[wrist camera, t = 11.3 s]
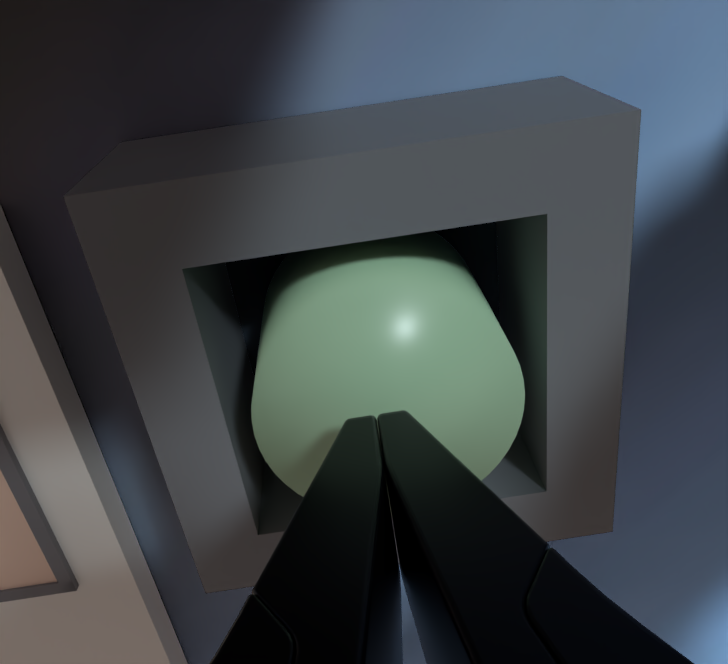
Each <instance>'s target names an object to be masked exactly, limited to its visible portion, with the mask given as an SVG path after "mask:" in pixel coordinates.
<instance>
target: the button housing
mask: <svg viewBox="0 0 728 664" xmlns="http://www.w3.org/2000/svg"><path fill="white" fill-rule="evenodd" d="M640 120H641V109H639V108H636V107H634V106H632V105H629V104H627V103H625V102H622V101H620V100H617V99H615V98H613V97H610V96H608V95H606V94H603V93H601V92H599V91H596V90H594V89H592V88H589V87H587V86H585V85H582V84H580V83H578V82H575V81H573V80H571V79H568V78H566V77H564V76H558V77H552V78H545V79H538V80H532V81H525V82H519V83H512V84H505V85H499V86H492V87H485V88H479V89H472V90H465V91H459V92H452V93H445V94H439V95H432V96H425V97H419V98H412V99H405V100H399V101H392V102H385V103H379V104H372V105H365V106H359V107H352V108H345V109H339V110H332V111H325V112H319V113H312V114H305V115H299V116H292V117H285V118H279V119H272V120H265V121H259V122H252V123H246V124H239V125H232V126H226V127H219V128H212V129H206V130H199V131H192V132H186V133H179V134H172V135H166V136H159V137H152V138H146V139H139V140H132V141H126V142H121V143H119V144H118V145H117V146H116V147H115V148H114V149H113V150H112V151H111V152H110V153H109V154H108V155H107V156H106V157H105V158H104V159H102V160H101V161H100V162H99V163H98V164H97V165H96V166H95V167H94V168H93V169H92V170H91V171H90V172H89V173H88V174H87V175H85V176H84V177H83V178H82V179H81V180H80V181H79V182H78V183H77V184H76V185H75V186H74V187H73V188H72V189H71V190H70V191H69V192H67V193H66V194H65V195H64V196H63V198H64V200H65V203H66V206H67V209H68V211H69V214H70V217H71V220H72V223H73V225H74V228H75V231H76V234H77V237H78V239H79V242H80V245H81V248H82V250H83V253H84V256H85V259H86V262H87V264H88V267H89V270H90V273H91V276H92V278H93V281H94V284H95V287H96V289H97V292H98V295H99V298H100V301H101V303H102V306H103V309H104V312H105V315H106V317H107V320H108V323H109V326H110V328H111V331H112V334H113V337H114V340H115V342H116V345H117V348H118V351H119V354H120V356H121V359H122V362H123V365H124V367H125V370H126V373H127V376H128V379H129V381H130V384H131V387H132V390H133V393H134V395H135V398H136V401H137V404H138V406H139V409H140V412H141V415H142V418H143V420H144V423H145V426H146V429H147V432H148V434H149V437H150V440H151V443H152V445H153V448H154V451H155V454H156V457H157V459H158V462H159V465H160V468H161V471H162V473H163V476H164V479H165V482H166V484H167V487H168V490H169V493H170V496H171V498H172V501H173V504H174V507H175V510H176V512H177V515H178V518H179V521H180V523H181V526H182V529H183V532H184V535H185V537H186V540H187V543H188V546H189V548H190V551H191V554H192V557H193V560H194V562H195V565H196V568H197V571H198V574H199V576H200V579H201V582H202V585H203V587H204V590H205V593H212V592H219V591H225V590H232V589H238V588H245V587H252V586H255V584H256V582H257V581H258V579H259V577H260V575H261V573H262V572H263V570H264V568H265V566H266V564H267V562H268V561H269V559H270V557H271V555H272V553H273V552H274V550H275V548H276V546H277V544H278V542H279V541H280V539H281V537H282V535H283V533H284V531H285V530H286V528H287V526H288V524H289V522H290V521H291V519H292V517H293V515H294V513H295V511H296V510H297V508H298V506H299V504H300V502H301V501H302V499H303V497H302V496H301V495H299V494H297V493H296V492H295V491H293V490H292V489H291V488H290V487H288V486H287V485H286V484H285V483H284V482H283V481H282V480H281V479H280V478H279V477H278V476H277V475H276V474H275V473H274V472H273V471H272V469H271V468H270V467H269V465H268V464H267V462H266V461H265V459H264V457H263V455H262V453H261V452H260V450H259V447H258V444H257V442H256V439H255V436H254V431H253V426H252V416H251V404H252V396H253V388H254V380H255V379H254V375H253V371H252V367H251V363H250V359H249V355H248V351H247V347H246V343H245V339H244V335H243V331H242V327H241V323H240V319H239V315H238V311H237V307H236V303H235V299H234V295H233V291H232V287H231V283H230V279H229V275H228V271H227V267H226V263H225V262H231V261H238V260H244V259H251V258H258V257H264V256H271V255H277V254H284V253H291V252H297V251H304V250H311V249H317V248H324V247H331V246H337V245H344V244H350V243H357V242H364V241H370V240H377V239H384V238H390V237H397V236H403V235H410V234H417V233H423V232H430V231H437V230H443V229H450V228H457V227H463V226H470V225H476V224H483V223H490V222H496V241H497V268H498V296H499V323H500V326H501V328H502V330H503V332H504V334H505V336H506V338H507V339H508V341H509V343H510V345H511V347H512V349H513V351H514V353H515V355H516V357H517V360H518V362H519V364H520V367H521V371H522V375H523V379H524V388H525V403H524V412H523V416H522V421H521V424H520V427H519V430H518V432H517V435H516V438H515V439H514V441H513V443H512V445H511V447H510V449H509V450H508V452H507V453H506V455H505V456H504V457H503V459H502V460H501V462H500V463H499V464H498V465H497V466H496V467H495V468H494V469H493V470H492V471H491V473H490V474H489V475H487V476H486V477H485V478H484V479H483V480H482V482H483V483H484V484H485V485H486V486H487V487H488V488H489V489H491V490H492V491H493V492H494V493H495V494H496V495H497V496H498V497H499V498H500V499H501V500H502V501H503V502H504V503H505V504H506V505H508V506H509V507H510V508H511V509H512V510H513V511H514V512H515V513H516V514H517V515H518V516H519V517H520V518H521V519H522V520H523V521H524V522H526V523H527V524H528V525H529V526H530V527H531V528H532V529H533V530H534V531H535V532H536V533H537V534H538V535H539V536H540V537H541V538H543V539H544V540H545V541H546V542H547V541H554V540H561V539H567V538H574V537H580V536H587V535H593V534H600V533H607V532H613V517H614V502H615V487H616V473H617V458H618V443H619V429H620V414H621V399H622V385H623V370H624V355H625V340H626V326H627V311H628V296H629V282H630V267H631V252H632V238H633V223H634V208H635V193H636V179H637V164H638V149H639V135H640ZM392 522H393V521H392ZM393 529H394V527H393ZM394 535H395V533H394ZM395 542H396V540H395ZM396 549H397V546H396ZM397 555H398V553H397ZM398 563H399V559H398Z"/></svg>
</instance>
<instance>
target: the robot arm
mask: <svg viewBox="0 0 728 664" xmlns="http://www.w3.org/2000/svg"><path fill="white" fill-rule="evenodd" d="M377 423H378V425H377ZM378 429H379V431H378ZM379 436H380V437H379ZM381 449H382V450H381ZM387 488H388V489H387ZM389 501H390V502H389ZM390 508H391V509H390ZM391 514H392V515H391ZM392 521H393V522H392ZM393 527H394V529H393ZM394 533H395V535H394ZM395 540H396V542H395ZM396 546H397V549H396ZM397 553H398V555H397ZM398 559H399V563H398ZM399 564H400V569H401V575H402V579H403V582H404V586H405V590H406V594H407V597H408V601H409V604H410V608H411V611H412V614H413V618H414V621H415V625H416V628H417V632H418V635H419V638H420V642H421V645H422V649H423V652H424V656H425V659H426V663H427V664H694V663H692V662H691V661H690V660H688V659H687V658H686V657H684V656H683V655H682V654H680V653H679V652H678V651H676V650H675V649H674V648H672V647H671V646H670V645H668V644H667V643H666V642H664V641H663V640H662V639H660V638H659V637H658V636H656V635H655V634H654V633H652V632H651V631H650V630H648V629H647V628H646V627H645V626H643V625H642V624H641V623H639V622H638V621H637V620H636V619H634V618H633V617H632V616H630V615H629V614H628V613H627V612H625V611H624V610H623V609H622V608H620V607H619V606H618V605H617V604H615V603H614V602H613V601H611V600H610V599H609V598H608V597H606V596H605V595H604V594H603V593H602V592H601V591H600V590H598V589H597V588H596V587H595V586H594V585H593V584H592V583H590V582H589V581H588V580H587V579H586V578H585V577H584V576H583V575H581V574H580V573H579V572H578V571H577V570H576V569H575V568H574V567H572V566H571V565H570V564H569V563H568V562H567V561H566V560H565V559H564V558H563V557H562V556H561V555H560V554H559V553H558V552H557V551H556V550H555V549H553V548H550V547H549V544H548V543H547V542H546V541H545V540H544V539H543V538H541V537H540V536H539V535H538V534H537V533H536V532H535V531H534V530H533V529H532V528H531V527H530V526H529V525H528V524H527V523H526V522H524V521H523V520H522V519H521V518H520V517H519V516H518V515H517V514H516V513H515V512H514V511H513V510H512V509H511V508H510V507H509V506H508V505H506V504H505V503H504V502H503V501H502V500H501V499H500V498H499V497H498V496H497V495H496V494H495V493H494V492H493V491H492V490H491V489H489V488H488V487H487V486H486V485H485V484H484V483H483V482H482V481H481V480H480V479H479V478H478V477H477V476H476V475H475V474H474V473H472V472H471V471H470V470H469V469H468V468H467V467H466V466H465V465H464V464H463V463H462V462H461V461H460V460H459V459H458V458H457V457H455V456H454V455H453V454H452V453H451V452H450V451H449V450H448V449H447V448H446V447H445V446H444V445H443V444H442V443H441V442H440V441H438V440H437V439H436V438H435V437H434V436H433V435H432V434H431V433H430V432H429V431H428V430H427V429H426V428H425V427H424V426H423V425H421V424H420V423H419V422H418V421H417V420H416V419H415V418H414V417H413V416H412V415H411V414H410V413H409V412H407V411H405V410H401V411H394V412H388V413H382V414H379V415H378V417H377V419H376V417H375V416H373V415H368V416H362V417H355V418H349V419H347V420H346V421H345V422H344V424H343V426H342V428H341V429H340V431H339V433H338V435H337V437H336V439H335V440H334V442H333V444H332V446H331V448H330V449H329V451H328V453H327V455H326V457H325V459H324V460H323V462H322V464H321V466H320V468H319V470H318V471H317V473H316V475H315V477H314V479H313V480H312V482H311V484H310V486H309V488H308V490H307V491H306V493H305V495H304V497H303V499H302V501H301V502H300V504H299V506H298V508H297V510H296V511H295V513H294V515H293V517H292V519H291V521H290V522H289V524H288V526H287V528H286V530H285V531H284V533H283V535H282V537H281V539H280V541H279V542H278V544H277V546H276V548H275V550H274V552H273V553H272V555H271V557H270V559H269V561H268V562H267V564H266V566H265V568H264V570H263V572H262V573H261V575H260V577H259V579H258V581H257V582H256V584H255V586H254V588H253V590H252V594H251V595H249V596H248V598H247V600H246V602H245V604H244V606H243V607H242V609H241V611H240V613H239V615H238V617H237V619H236V620H235V622H234V624H233V625H232V627H231V629H230V630H229V632H228V634H227V636H226V637H225V639H224V641H223V642H222V644H221V646H220V647H219V649H218V651H217V652H216V654H215V656H214V657H213V659H212V660H211V662H210V663H209V664H403V653H402V613H401V584H400V571H399Z"/></svg>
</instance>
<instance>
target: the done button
mask: <svg viewBox="0 0 728 664" xmlns="http://www.w3.org/2000/svg"><path fill="white" fill-rule="evenodd" d="M524 403H525V388H524V379H523V375H522V371H521V367H520V364H519V362H518V360H517V357H516V355H515V353H514V351H513V349H512V347H511V345H510V343H509V341H508V339H507V338H506V336H505V334H504V332H503V330H502V328H501V326H500V325H499V323H498V321H497V319H496V317H495V315H494V313H493V312H492V310H491V308H490V306H489V304H488V302H487V300H486V299H485V297H484V295H483V293H482V291H481V289H480V287H479V286H478V284H477V282H476V280H475V278H474V276H473V274H472V273H471V271H470V269H469V267H468V265H467V264H466V262H465V261H464V259H463V258H462V256H461V255H460V254H459V253H458V252H457V250H456V249H455V248H454V247H453V246H452V245H451V244H450V243H449V242H447V241H446V240H445V239H444V238H443V237H441V236H440V235H438V234H437V233H435V232H434V231H430V232H423V233H417V234H410V235H403V236H397V237H390V238H384V239H377V240H370V241H364V242H357V243H350V244H344V245H337V246H331V247H324V248H317V249H311V250H304V251H297V252H291V253H289V254H288V255H287V256H286V257H285V258H284V260H283V261H282V262H281V264H280V265H279V267H278V268H277V270H276V272H275V273H274V275H273V277H272V280H271V282H270V284H269V287H268V290H267V293H266V297H265V303H264V310H263V317H262V325H261V333H260V341H259V349H258V357H257V365H256V372H255V380H254V388H253V396H252V404H251V416H252V426H253V431H254V436H255V439H256V442H257V444H258V447H259V450H260V452H261V453H262V455H263V457H264V459H265V461H266V462H267V464H268V465H269V467H270V468H271V469H272V471H273V472H274V473H275V474H276V475H277V476H278V477H279V478H280V479H281V480H282V481H283V482H284V483H285V484H286V485H287V486H288V487H290V488H291V489H292V490H293V491H295V492H296V493H297V494H299V495H301V496H302V497H304V495H305V493H306V491H307V490H308V488H309V486H310V484H311V482H312V480H313V479H314V477H315V475H316V473H317V471H318V470H319V468H320V466H321V464H322V462H323V460H324V459H325V457H326V455H327V453H328V451H329V449H330V448H331V446H332V444H333V442H334V440H335V439H336V437H337V435H338V433H339V431H340V429H341V428H342V426H343V424H344V422H345V421H346V420H347V419H349V418H355V417H362V416H368V415H373V416H375V417H376V419H377V417H378V415H379V414H382V413H388V412H394V411H401V410H405V411H407V412H409V413H410V414H411V415H412V416H413V417H414V418H415V419H416V420H417V421H418V422H419V423H420V424H421V425H423V426H424V427H425V428H426V429H427V430H428V431H429V432H430V433H431V434H432V435H433V436H434V437H435V438H436V439H437V440H438V441H440V442H441V443H442V444H443V445H444V446H445V447H446V448H447V449H448V450H449V451H450V452H451V453H452V454H453V455H454V456H455V457H457V458H458V459H459V460H460V461H461V462H462V463H463V464H464V465H465V466H466V467H467V468H468V469H469V470H470V471H471V472H472V473H474V474H475V475H476V476H477V477H478V478H479V479H480V480H481V481H482V480H483V479H484V478H485V477H486V476H487V475H489V474H490V473H491V471H492V470H493V469H494V468H495V467H496V466H497V465H498V464H499V463H500V462H501V460H502V459H503V457H504V456H505V455H506V453H507V452H508V450H509V449H510V447H511V445H512V443H513V441H514V439H515V438H516V435H517V432H518V430H519V427H520V424H521V421H522V416H523V412H524ZM377 425H378V423H377ZM378 431H379V429H378ZM379 437H380V436H379ZM381 450H382V449H381ZM387 489H388V488H387ZM389 502H390V501H389ZM390 509H391V508H390ZM391 515H392V514H391Z"/></svg>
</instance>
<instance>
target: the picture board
mask: <svg viewBox="0 0 728 664" xmlns="http://www.w3.org/2000/svg"><path fill="white" fill-rule="evenodd" d="M0 664H188V663H187V660H186V658H185V656H184V653H183V651H182V648H181V646H180V643H179V641H178V638H177V636H176V634H175V631H174V629H173V626H172V624H171V621H170V619H169V616H168V614H167V612H166V609H165V607H164V604H163V602H162V599H161V597H160V594H159V592H158V589H157V587H156V585H155V582H154V580H153V577H152V575H151V572H150V570H149V567H148V565H147V563H146V560H145V558H144V555H143V553H142V550H141V548H140V545H139V543H138V541H137V538H136V536H135V533H134V531H133V528H132V526H131V523H130V521H129V518H128V516H127V514H126V511H125V509H124V506H123V504H122V501H121V499H120V496H119V494H118V492H117V489H116V487H115V484H114V482H113V479H112V477H111V474H110V472H109V469H108V467H107V465H106V462H105V460H104V457H103V455H102V452H101V450H100V447H99V445H98V443H97V440H96V438H95V435H94V433H93V430H92V428H91V425H90V423H89V421H88V418H87V416H86V413H85V411H84V408H83V406H82V403H81V401H80V398H79V396H78V394H77V391H76V389H75V386H74V384H73V381H72V379H71V376H70V374H69V372H68V369H67V367H66V364H65V362H64V359H63V357H62V354H61V352H60V349H59V347H58V345H57V342H56V340H55V337H54V335H53V332H52V330H51V327H50V325H49V323H48V320H47V318H46V315H45V313H44V310H43V308H42V305H41V303H40V301H39V298H38V296H37V293H36V291H35V288H34V286H33V283H32V281H31V278H30V276H29V274H28V271H27V269H26V266H25V264H24V261H23V259H22V256H21V254H20V252H19V249H18V247H17V244H16V242H15V239H14V237H13V234H12V232H11V230H10V227H9V225H8V222H7V220H6V217H5V215H4V212H3V210H2V207H1V205H0Z"/></svg>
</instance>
